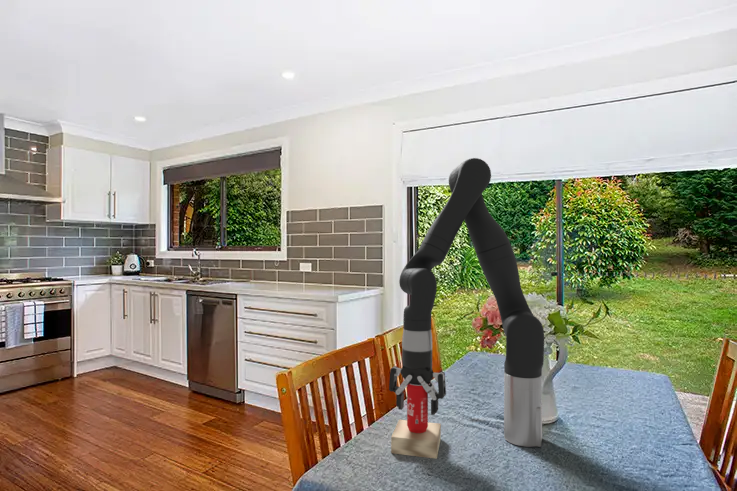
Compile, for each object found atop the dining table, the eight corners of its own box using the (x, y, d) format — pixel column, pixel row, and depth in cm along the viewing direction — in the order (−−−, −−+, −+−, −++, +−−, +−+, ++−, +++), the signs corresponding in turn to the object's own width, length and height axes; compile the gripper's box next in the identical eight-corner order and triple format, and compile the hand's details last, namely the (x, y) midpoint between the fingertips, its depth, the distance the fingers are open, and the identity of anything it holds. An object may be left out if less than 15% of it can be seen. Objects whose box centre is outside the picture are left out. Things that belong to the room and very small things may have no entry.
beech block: (440, 439, 115) (440, 423, 115) (436, 458, 104) (436, 441, 104) (399, 434, 117) (399, 419, 117) (391, 453, 107) (391, 436, 107)
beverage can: (427, 435, 108) (427, 385, 108) (405, 433, 109) (406, 384, 109) (428, 426, 113) (428, 379, 113) (408, 425, 114) (408, 378, 114)
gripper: (448, 346, 111) (448, 410, 111) (395, 341, 117) (395, 402, 117) (441, 353, 105) (440, 421, 104) (385, 347, 110) (385, 412, 110)
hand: (416, 411), depth 111 cm, fingers open, 8 cm apart
